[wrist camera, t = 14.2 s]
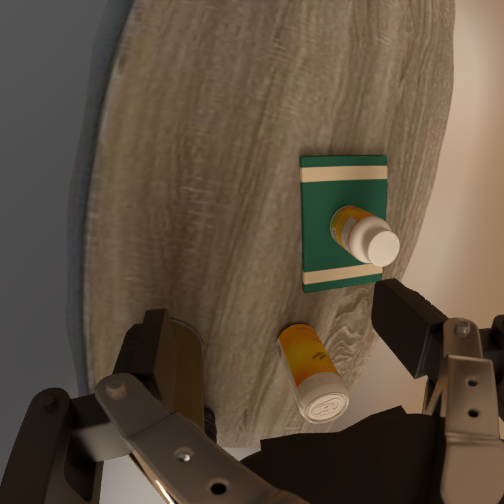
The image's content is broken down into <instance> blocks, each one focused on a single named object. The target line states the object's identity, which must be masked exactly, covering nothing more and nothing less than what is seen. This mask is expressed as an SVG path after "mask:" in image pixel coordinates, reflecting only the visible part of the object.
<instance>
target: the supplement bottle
mask: <svg viewBox="0 0 504 504" xmlns="http://www.w3.org/2000/svg"><path fill="white" fill-rule="evenodd" d="M330 232H331V235H332V237H333V239H334V240H335V241H336V242H337V243H338V244H339V245H341V246H342V247H343V248H344V249H345V250H347V251H348V252H349V253H350V254H352V255H353V256H354V257H355V258H356V259H358V260H359V261H361V262H364V263H372V264H374V265H376V266H380V267H381V266H386V265H388V264H390V263H391V262H392V261H393V260H394V259H395V258H396V256H397V254H398V252H399V240H398V237H397V236H396V235H395V234H394V233H393V232H392V231H391V229H390V227H389V225H388V224H387V223H386V222H385V221H384V220H383V219H381V218H379V217H377V216H375V215H373V214H371V213H369V212H367V211H365V210H363V209H361V208H359V207H356V206H344V207H342V208H340V209H339V210H338V211H337V212H336V213H335V214H334V215H333V217H332V219H331V223H330Z"/></svg>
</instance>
